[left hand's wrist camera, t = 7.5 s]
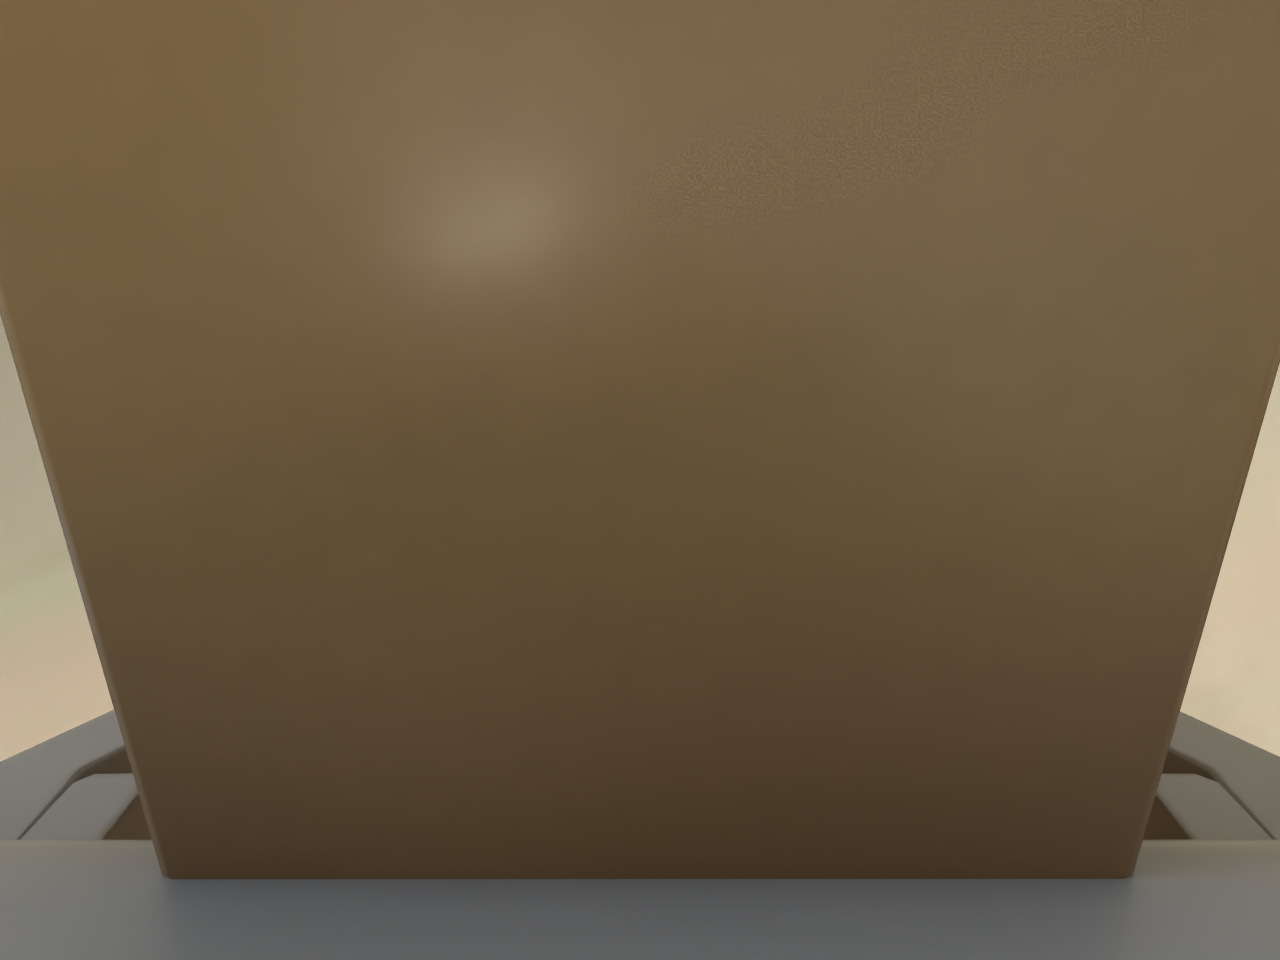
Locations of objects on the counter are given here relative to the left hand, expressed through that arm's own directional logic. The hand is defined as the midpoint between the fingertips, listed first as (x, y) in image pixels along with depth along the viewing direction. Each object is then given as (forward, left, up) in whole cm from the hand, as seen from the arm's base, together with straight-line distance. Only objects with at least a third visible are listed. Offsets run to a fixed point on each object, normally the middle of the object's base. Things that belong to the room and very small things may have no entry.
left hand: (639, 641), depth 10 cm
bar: (+8, 0, -4) cm, 9 cm away
